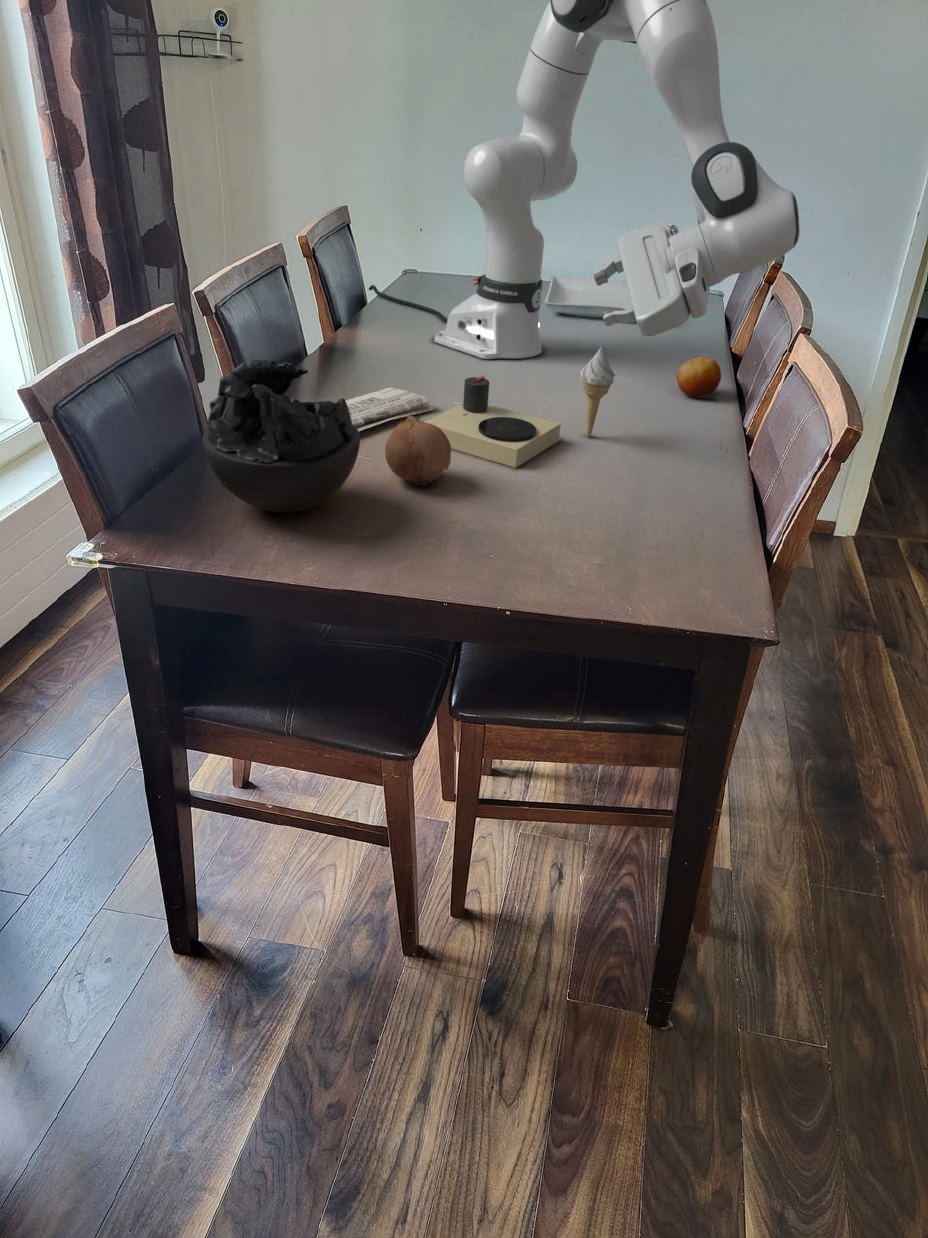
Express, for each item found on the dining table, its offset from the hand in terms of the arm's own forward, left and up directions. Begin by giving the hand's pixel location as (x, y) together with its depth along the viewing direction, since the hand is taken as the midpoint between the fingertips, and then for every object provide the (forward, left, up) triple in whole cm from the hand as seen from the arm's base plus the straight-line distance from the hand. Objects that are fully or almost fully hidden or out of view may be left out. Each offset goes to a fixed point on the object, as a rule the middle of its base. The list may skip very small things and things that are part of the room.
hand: (599, 299), depth 142 cm
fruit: (+8, +33, -22) cm, 40 cm away
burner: (-6, -14, -19) cm, 24 cm away
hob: (-10, -12, -22) cm, 27 cm away
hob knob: (-15, -9, -19) cm, 26 cm away
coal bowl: (-19, -50, -22) cm, 58 cm away
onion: (-10, -32, -22) cm, 41 cm away
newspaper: (-31, -17, -22) cm, 42 cm away
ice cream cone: (+2, 0, -22) cm, 22 cm away
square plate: (-33, +79, -22) cm, 88 cm away
